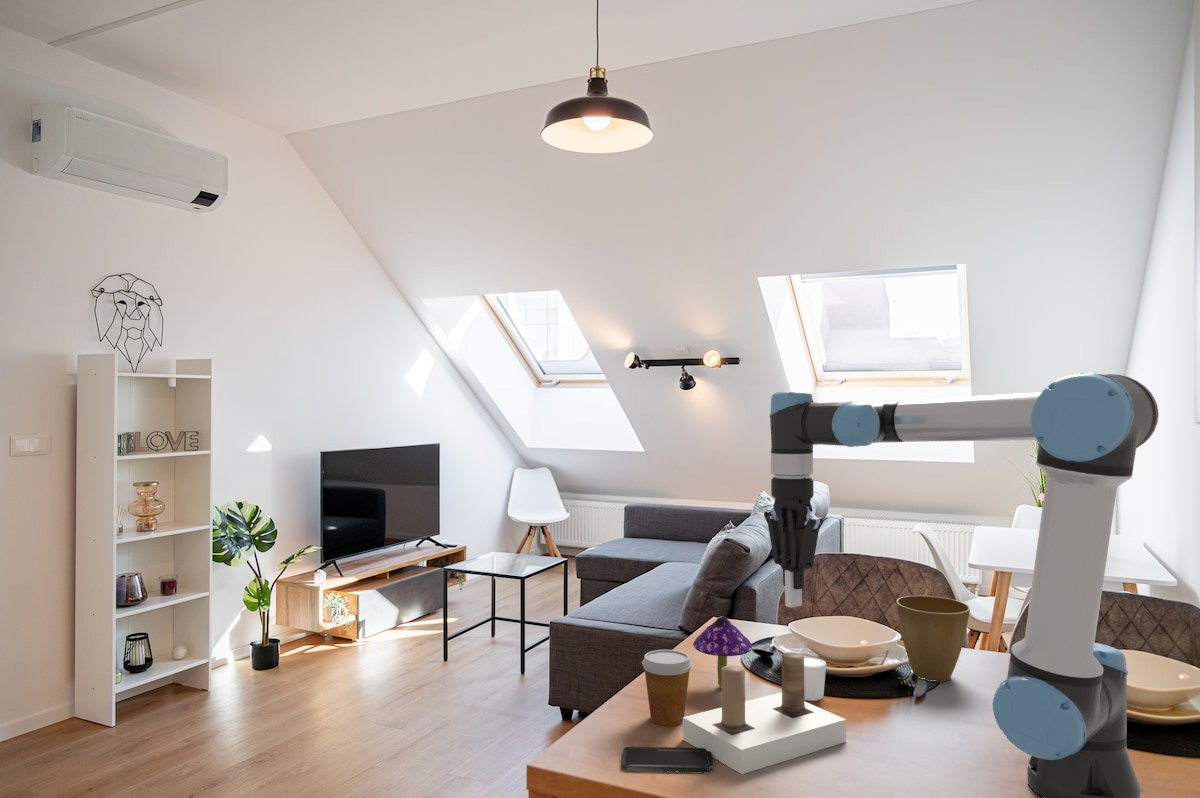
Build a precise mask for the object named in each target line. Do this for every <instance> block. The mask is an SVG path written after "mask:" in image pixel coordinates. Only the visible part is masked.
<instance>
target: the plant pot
mask: <svg viewBox="0 0 1200 798" xmlns="http://www.w3.org/2000/svg"><path fill="white" fill-rule="evenodd" d="M896 609H897V617H898V623H899V628H900V633H901V638H902V641H903V645H904V649H905V653H906V656H907V658H908V662H909V665H910V667H911V670H912V673H913V675H914V674H915V675H916V676H917V677H920V678H925V679H928V680H936V681H940V682H939V683H944V682H947V681H949V680H950V679H951V677H952V676H953V675H952V674H954V671H955V668H956V665H957V662H958V660H959V657H960V656H961V655H960V654H961V651H962V648H963V644H964V641H965V637H966V634H967V628H968V623H969V618H970V611H971V607H970V606H969V604H967V603H966V602H962V601H960V600H956V599H952V598H949V597H947V598H946V597H940V596H932V595H906V596H901V597H898V598H897V599H896ZM915 675H914V676H915ZM916 676H915V677H916ZM917 677H916V678H917ZM920 678H919V679H920Z"/></svg>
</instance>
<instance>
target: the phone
mask: <svg viewBox="0 0 1200 798" xmlns="http://www.w3.org/2000/svg"><path fill="white" fill-rule="evenodd" d="M622 752H623V753H622V759H621V760H622V761H621V769H622V770H623V771H625V772H626V771H627V772H649V771H663V772H662V773H668V772H667V771H670V772H669V773H676V772H675V771H679V772H678V773H689V772H701V774H705V773H704V772H710V773H712V772H713V771H714V762H713V757H712V755H711V752H710V751H707V750H706V749H705V748H696V747H678V746H677V747H672V746H670V747H668V746H667V747H666V746H632V745H631V746H629V745H628V746H625V747H624V748H623V750H622ZM671 771H672V772H671ZM711 771H712V772H711Z"/></svg>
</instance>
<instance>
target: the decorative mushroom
mask: <svg viewBox="0 0 1200 798" xmlns="http://www.w3.org/2000/svg"><path fill="white" fill-rule="evenodd" d="M692 645H693V647H694V649H695V650H696V651H698V652H699V653H703V654H705V655H710V656H714V657H715V656H716V657H717V670H716V671H717V684H718V686H719V687H720V688H722V667H724V666H728V657H734V656H742V655H745V654H747V653H749V652H751V651H752V648H753V643H752V642H751V641H750V640H749V638H748V637H747V636H745V635H744V634H743V633H742V632H741V630H740V629H739V628H738V627H737V626H736V625H734V624H733V623H732V622H731V621H730V619H728V618H727V616H723V615H722V616H721V615H720V616H719V617H717V619H716V620H715V621H713V623H711V624H710V625H708V626H707V627H706V628H704V630H703V631H702V632H700V634H699V635H698V636H697V637H696V638H695V640H694V642H693V643H692Z"/></svg>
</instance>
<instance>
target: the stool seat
mask: <svg viewBox="0 0 1200 798" xmlns="http://www.w3.org/2000/svg"><path fill="white" fill-rule="evenodd" d="M781 705H782V691H780V692H778V693H774V694H769V695H764V696H761V697H758V698H757V697H756V698H753V699H750V700H749V699H748V700H746V669H745V667H742V666H740V665H727V666H724V667H722V687H721V707H719V708H714V709H710V710H706V711H701V712H698V713H694V714H691V715H687V716H684V717H683V722H682V740H683V741H685V742H686V743H688V744H690V745H691V746H693V747H694V748H696V747H697V748H705V749H706V750H707V751H710V752H711V755H712V758H713V757H714V758H713V759H715V760H717V761H718V760H719V762H720V763H721V764H722V765H723V764H724V765H725V764H726V765H725V766H727V767H729V768H730V769H732V770H734V771H736V772H737V773H739V774H741V775H744V774H747V773H750V772H753V771H757V770H761V769H763V768H767V767H770V766H772V765H777V764H779V763H784V762H786V761H789V760H792V759H795V758H799V757H802V756H806V755H808V754H812V753H815V752H818V751H822V750H824V749H827V748H832V747H834V746H838V745H840V744H845V743H846V742H847V719H846V718H844V717H841V716H839V715H837V714H835V713H832V712H830V711H828V710H825V709H823V708H821V707H818V706H816V705H814V704H812V703H810V702H807V701H806V700H804V706H805V715H803V716H800V717H796V718H791V717H789V716H786V715H784V714H782V708H781Z"/></svg>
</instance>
